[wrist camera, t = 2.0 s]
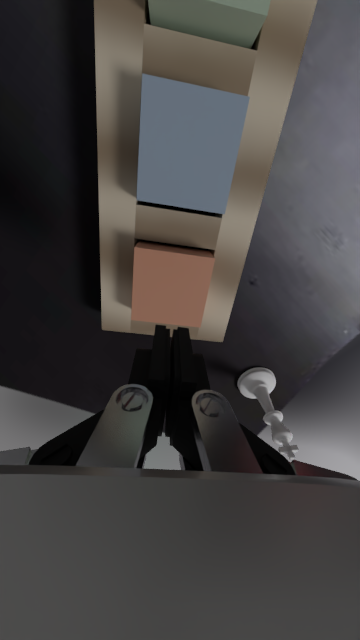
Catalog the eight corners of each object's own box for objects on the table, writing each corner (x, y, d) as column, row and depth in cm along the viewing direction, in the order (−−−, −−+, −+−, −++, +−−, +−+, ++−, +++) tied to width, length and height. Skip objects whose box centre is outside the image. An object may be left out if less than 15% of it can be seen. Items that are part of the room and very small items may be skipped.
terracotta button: (139, 240, 18) (134, 247, 16) (209, 250, 19) (215, 258, 16) (136, 305, 21) (131, 320, 19) (196, 312, 22) (200, 327, 19)
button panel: (106, -218, 11) (85, -360, 8) (335, -140, 12) (384, -241, 9) (109, 315, 24) (101, 329, 21) (217, 327, 25) (222, 342, 22)
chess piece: (236, 370, 28) (266, 446, 19) (275, 364, 28) (323, 438, 19) (238, 397, 30) (265, 476, 22) (273, 391, 30) (316, 469, 21)
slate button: (147, 97, 14) (142, 73, 12) (235, 115, 15) (249, 96, 12) (141, 200, 17) (136, 200, 14) (216, 212, 18) (224, 214, 15)
